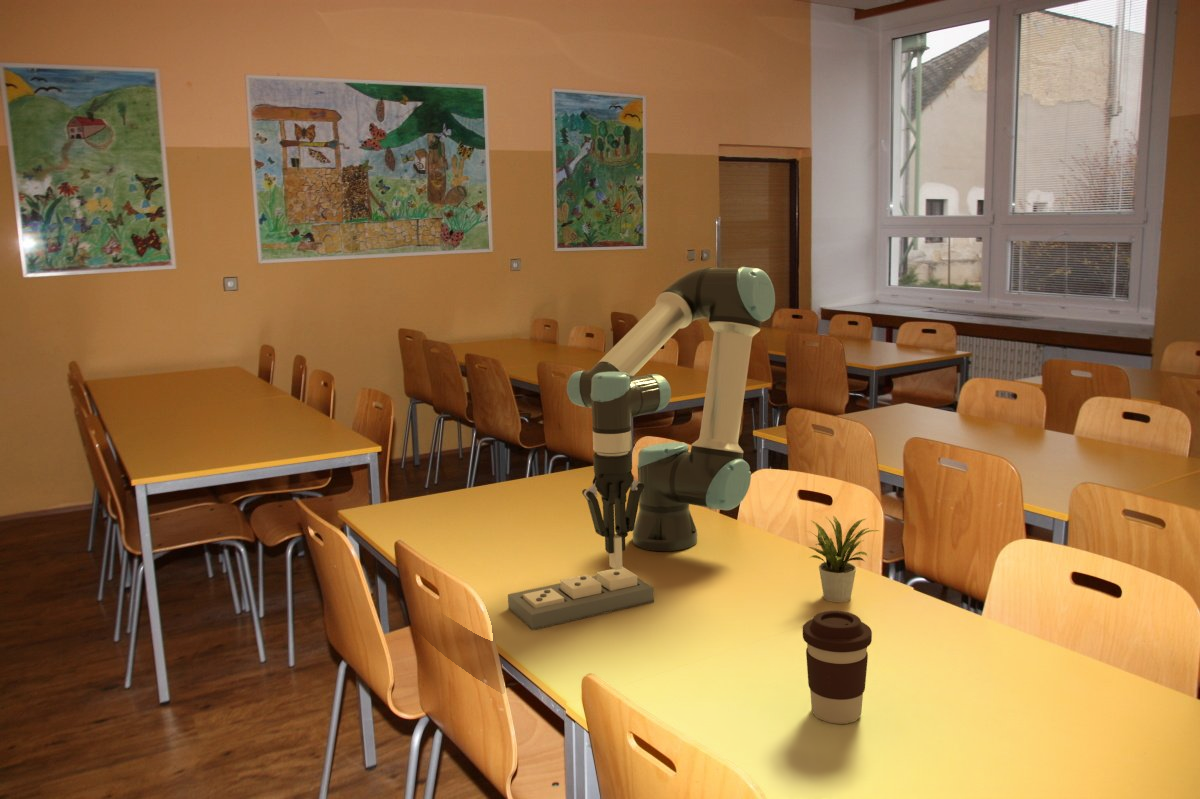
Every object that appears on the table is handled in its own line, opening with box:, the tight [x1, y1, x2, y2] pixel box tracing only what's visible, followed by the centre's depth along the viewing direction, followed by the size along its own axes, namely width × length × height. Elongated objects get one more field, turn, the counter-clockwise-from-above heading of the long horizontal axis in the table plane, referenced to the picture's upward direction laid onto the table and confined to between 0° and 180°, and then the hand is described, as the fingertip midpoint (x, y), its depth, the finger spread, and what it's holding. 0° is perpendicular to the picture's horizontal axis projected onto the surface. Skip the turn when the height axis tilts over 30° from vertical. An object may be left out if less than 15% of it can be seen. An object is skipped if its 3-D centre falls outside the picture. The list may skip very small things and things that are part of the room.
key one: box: [595, 566, 638, 591], centre depth 194 cm, size 6×6×2 cm
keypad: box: [507, 575, 655, 631], centre depth 191 cm, size 26×12×3 cm, turn 117°
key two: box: [559, 574, 601, 599], centre depth 191 cm, size 6×6×2 cm
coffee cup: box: [802, 610, 873, 725], centre depth 145 cm, size 10×10×15 cm
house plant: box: [806, 515, 879, 603], centre depth 189 cm, size 14×14×16 cm
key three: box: [523, 588, 564, 609], centre depth 187 cm, size 6×6×2 cm
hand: (616, 567), depth 194 cm, fingers closed
